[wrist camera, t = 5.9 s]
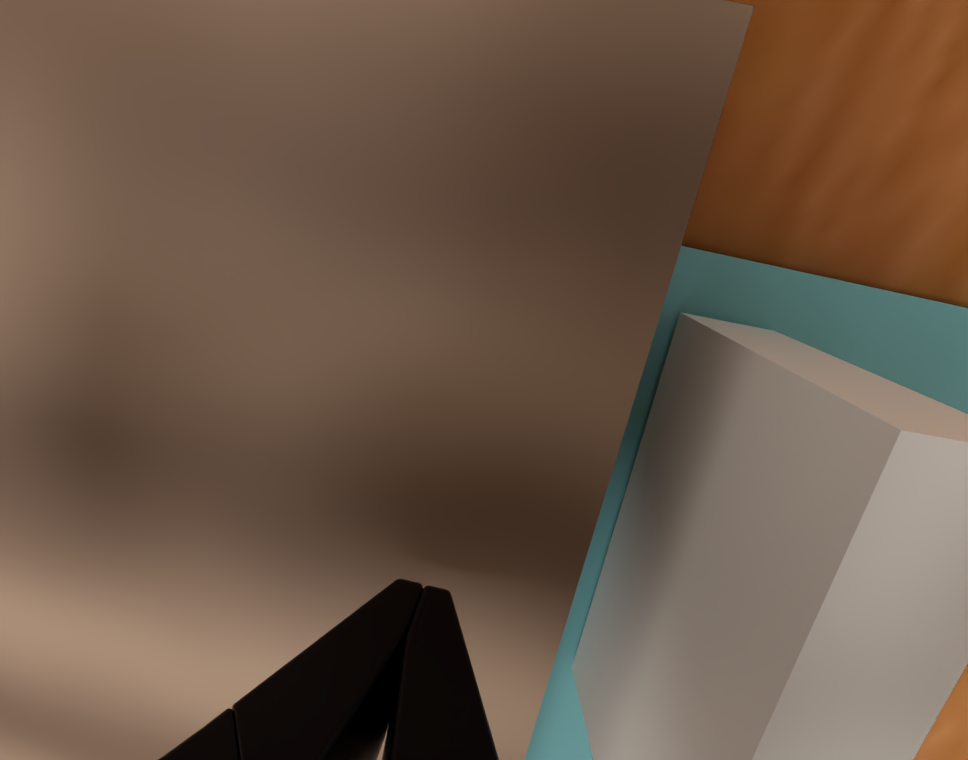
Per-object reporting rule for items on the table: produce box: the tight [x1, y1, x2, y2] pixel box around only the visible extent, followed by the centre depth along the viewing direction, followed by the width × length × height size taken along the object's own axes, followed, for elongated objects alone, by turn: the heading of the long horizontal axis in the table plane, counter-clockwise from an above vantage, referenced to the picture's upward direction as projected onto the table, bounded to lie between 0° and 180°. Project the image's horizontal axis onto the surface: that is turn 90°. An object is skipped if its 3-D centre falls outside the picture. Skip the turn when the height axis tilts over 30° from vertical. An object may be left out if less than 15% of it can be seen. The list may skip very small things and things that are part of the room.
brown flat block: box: [0, 0, 754, 760], centre depth 12 cm, size 18×12×4 cm, turn 170°
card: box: [572, 312, 968, 760], centre depth 10 cm, size 9×6×2 cm
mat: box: [524, 246, 968, 760], centre depth 14 cm, size 17×10×1 cm, turn 170°
